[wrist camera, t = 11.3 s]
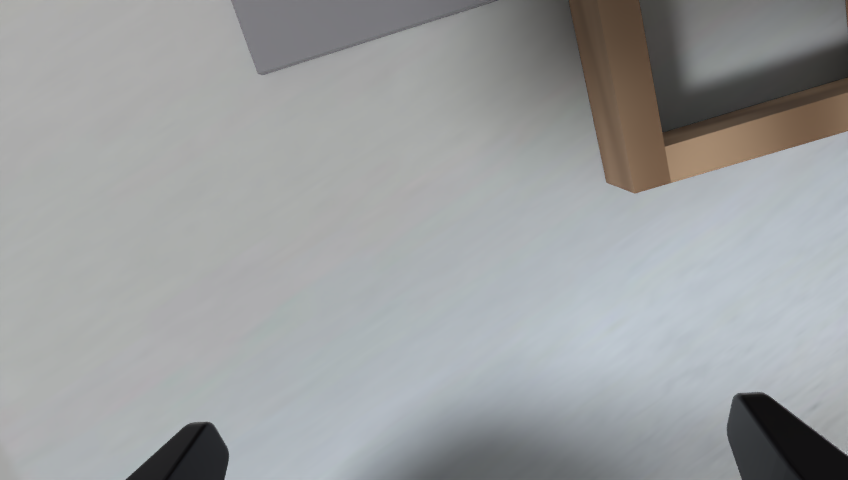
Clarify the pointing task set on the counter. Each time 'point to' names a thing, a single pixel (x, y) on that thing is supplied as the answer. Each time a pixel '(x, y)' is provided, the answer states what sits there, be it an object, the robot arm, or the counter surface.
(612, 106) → the tan wooden frame
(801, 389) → the counter surface
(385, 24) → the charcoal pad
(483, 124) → the counter surface
